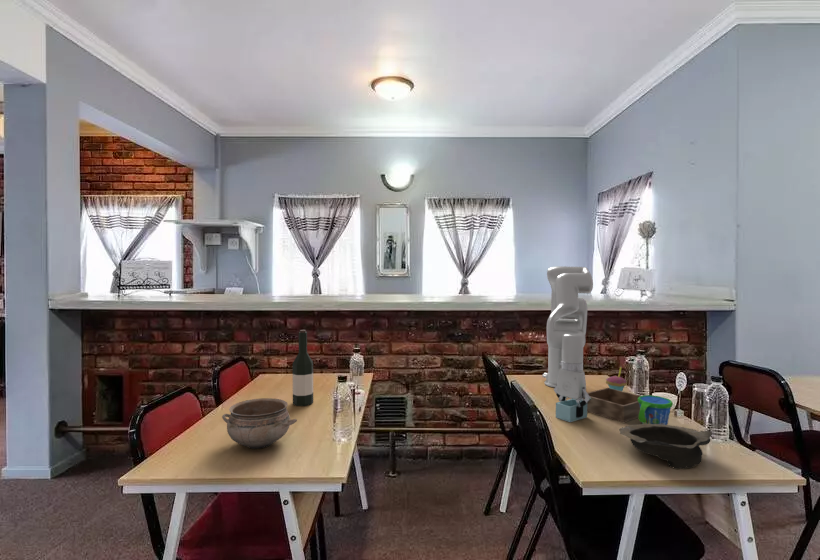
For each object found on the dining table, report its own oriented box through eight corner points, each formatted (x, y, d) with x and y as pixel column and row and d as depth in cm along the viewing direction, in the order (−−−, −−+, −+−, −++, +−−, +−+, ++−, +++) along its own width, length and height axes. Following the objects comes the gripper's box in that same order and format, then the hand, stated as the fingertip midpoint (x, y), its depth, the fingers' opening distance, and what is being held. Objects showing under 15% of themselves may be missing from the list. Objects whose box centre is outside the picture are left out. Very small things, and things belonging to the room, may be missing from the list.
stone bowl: (716, 482, 120) (714, 447, 120) (614, 467, 133) (612, 435, 133) (713, 449, 141) (711, 419, 141) (625, 438, 154) (623, 411, 154)
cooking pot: (308, 436, 151) (308, 400, 151) (282, 460, 133) (281, 419, 132) (239, 431, 156) (239, 395, 156) (204, 453, 137) (204, 413, 137)
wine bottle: (288, 404, 185) (287, 331, 184) (300, 399, 193) (300, 328, 192) (305, 407, 182) (305, 332, 181) (317, 401, 190) (317, 329, 189)
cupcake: (622, 389, 210) (623, 363, 209) (629, 395, 201) (630, 367, 201) (603, 389, 211) (603, 363, 210) (609, 394, 202) (609, 367, 202)
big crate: (580, 409, 181) (580, 394, 181) (607, 402, 191) (608, 387, 191) (623, 422, 166) (623, 406, 166) (650, 413, 176) (650, 398, 176)
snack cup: (652, 436, 152) (653, 406, 152) (625, 426, 162) (626, 398, 162) (683, 429, 159) (683, 400, 159) (655, 420, 169) (656, 392, 168)
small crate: (555, 417, 171) (555, 402, 171) (572, 412, 177) (572, 398, 177) (569, 422, 166) (570, 407, 166) (587, 417, 172) (587, 402, 171)
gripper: (546, 363, 176) (546, 409, 177) (586, 372, 162) (585, 422, 162) (559, 361, 180) (558, 406, 181) (599, 369, 166) (598, 418, 166)
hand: (571, 413), depth 171 cm, fingers closed on small crate, 6 cm apart
